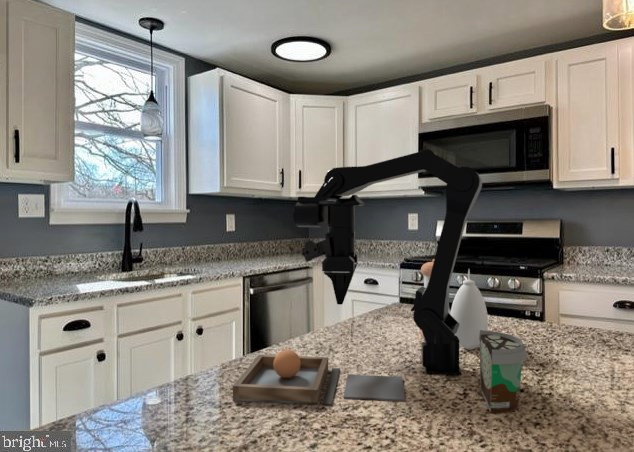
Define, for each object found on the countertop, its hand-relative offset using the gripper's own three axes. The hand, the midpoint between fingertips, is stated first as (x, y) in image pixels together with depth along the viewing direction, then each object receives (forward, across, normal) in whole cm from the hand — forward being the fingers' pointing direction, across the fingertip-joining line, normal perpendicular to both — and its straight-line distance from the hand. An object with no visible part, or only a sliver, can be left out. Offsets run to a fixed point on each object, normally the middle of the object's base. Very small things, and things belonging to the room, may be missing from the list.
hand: (341, 299), depth 94 cm
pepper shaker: (+12, -18, +22) cm, 31 cm away
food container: (+12, +20, +28) cm, 37 cm away
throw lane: (+12, +17, -2) cm, 21 cm away
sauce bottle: (+12, -8, +28) cm, 32 cm away
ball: (+9, +15, -9) cm, 20 cm away
